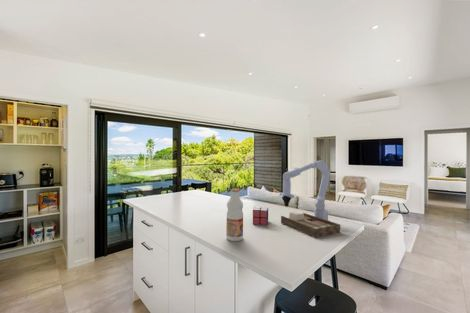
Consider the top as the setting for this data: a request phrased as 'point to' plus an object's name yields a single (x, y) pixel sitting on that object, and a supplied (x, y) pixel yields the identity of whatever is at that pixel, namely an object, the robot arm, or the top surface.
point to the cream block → (296, 215)
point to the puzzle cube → (260, 215)
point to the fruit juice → (234, 217)
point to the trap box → (312, 225)
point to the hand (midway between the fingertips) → (286, 206)
